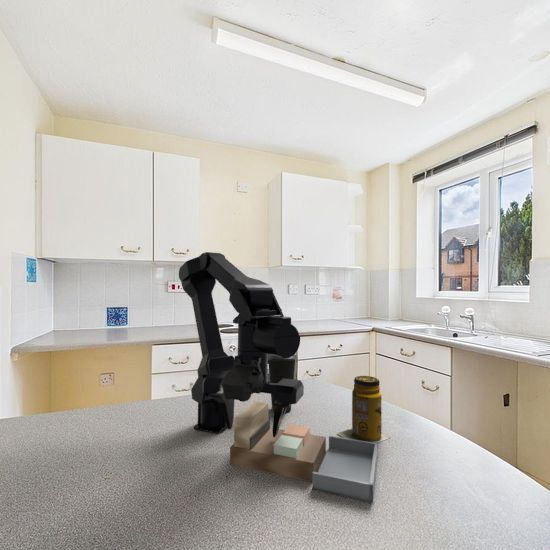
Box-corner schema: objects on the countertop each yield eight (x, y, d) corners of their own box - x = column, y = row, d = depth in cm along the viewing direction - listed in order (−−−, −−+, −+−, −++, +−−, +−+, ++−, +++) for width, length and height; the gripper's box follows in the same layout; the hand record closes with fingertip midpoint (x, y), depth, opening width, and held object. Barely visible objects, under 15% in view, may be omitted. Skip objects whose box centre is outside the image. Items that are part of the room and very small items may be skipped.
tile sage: (273, 453, 56) (273, 444, 56) (281, 443, 60) (281, 435, 60) (296, 458, 55) (296, 448, 55) (302, 447, 59) (302, 438, 59)
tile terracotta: (283, 441, 61) (283, 432, 61) (289, 432, 65) (289, 424, 65) (304, 444, 60) (304, 436, 60) (309, 435, 63) (309, 427, 63)
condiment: (390, 438, 69) (390, 380, 70) (362, 448, 65) (362, 386, 65) (363, 425, 75) (363, 372, 76) (336, 434, 71) (336, 377, 71)
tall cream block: (234, 446, 59) (234, 417, 59) (254, 426, 67) (254, 401, 67) (251, 449, 58) (251, 420, 58) (270, 428, 66) (270, 403, 66)
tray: (312, 489, 51) (312, 473, 51) (329, 448, 64) (329, 435, 65) (372, 503, 48) (372, 485, 48) (377, 456, 61) (377, 443, 61)
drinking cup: (268, 403, 89) (269, 328, 90) (297, 405, 88) (297, 329, 89) (264, 414, 81) (264, 332, 82) (295, 416, 80) (295, 333, 81)
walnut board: (229, 464, 58) (230, 447, 59) (252, 439, 68) (253, 425, 68) (313, 482, 53) (313, 463, 53) (325, 453, 63) (325, 436, 63)
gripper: (186, 353, 59) (184, 442, 58) (286, 362, 52) (285, 463, 52) (217, 343, 69) (216, 419, 69) (304, 349, 63) (304, 433, 62)
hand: (251, 432), depth 63 cm, fingers open, 9 cm apart
